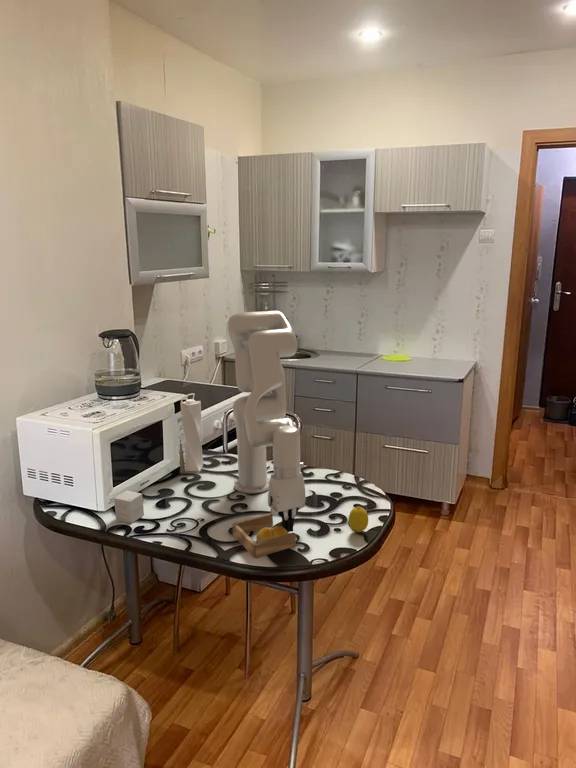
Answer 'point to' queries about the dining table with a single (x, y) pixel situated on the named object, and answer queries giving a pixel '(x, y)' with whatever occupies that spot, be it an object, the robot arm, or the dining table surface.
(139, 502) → the product box
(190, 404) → the skyscraper
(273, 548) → the bay
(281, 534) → the bread roll
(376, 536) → the dining table surface
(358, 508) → the lemon
